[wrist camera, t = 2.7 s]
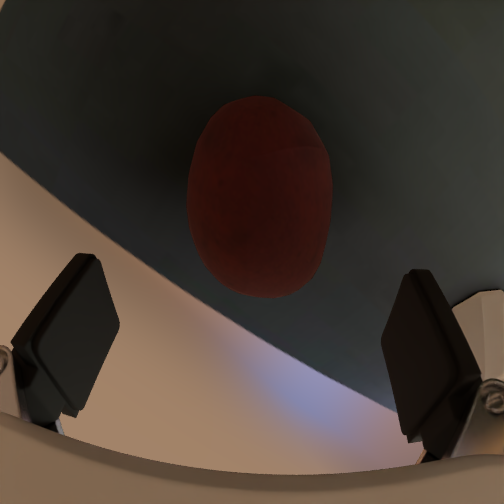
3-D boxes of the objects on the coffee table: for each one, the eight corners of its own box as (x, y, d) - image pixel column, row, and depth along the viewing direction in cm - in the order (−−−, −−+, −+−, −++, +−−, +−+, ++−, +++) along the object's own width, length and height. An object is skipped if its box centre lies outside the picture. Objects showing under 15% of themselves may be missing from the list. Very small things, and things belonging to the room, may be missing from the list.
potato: (240, 354, 12) (358, 301, 14) (213, 98, 8) (371, 96, 10) (182, 269, 18) (274, 242, 20) (157, 106, 14) (267, 94, 16)
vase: (475, 276, 19) (546, 416, 9) (526, 302, 20) (581, 410, 10) (409, 352, 24) (439, 482, 14) (468, 364, 25) (500, 469, 15)
